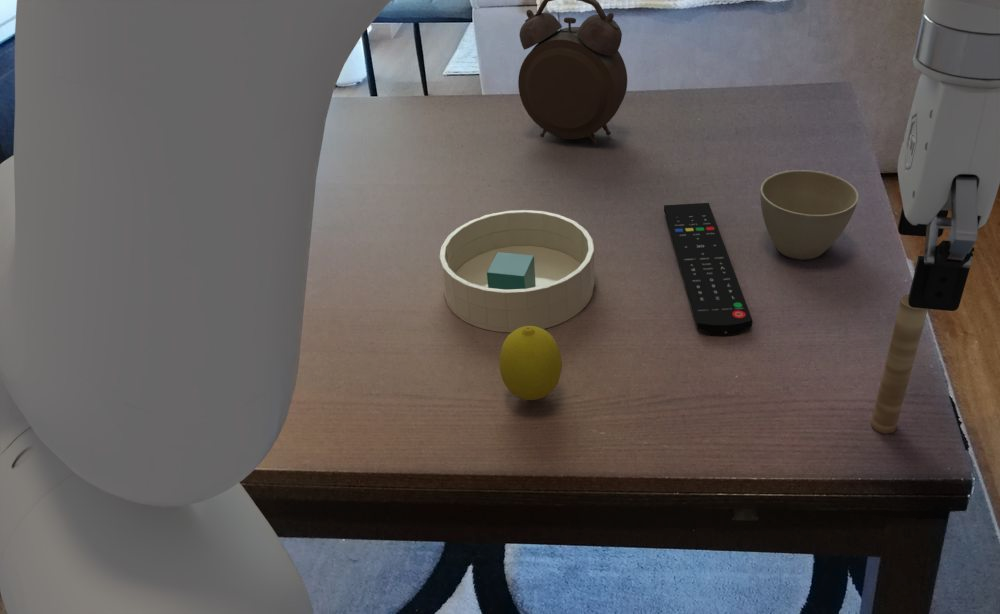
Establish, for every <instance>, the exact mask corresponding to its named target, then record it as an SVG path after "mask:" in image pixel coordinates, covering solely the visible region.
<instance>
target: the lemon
mask: <svg viewBox="0 0 1000 614" xmlns="http://www.w3.org/2000/svg"><path fill="white" fill-rule="evenodd" d="M498 366H499V371H500V376H501V379H502V382H503V384H504V385H505V387H506V388H507V390H508V391H510V393H511V394H512V395H514V396H515V397H518V398H519V399H523V400H526V401H536V400H537V401H538V400H540V399H543V398H544V397H546V396H548V395H549V394H550V393H552V392H553V391H554V390H555V388H556V387H557V385H558V384H559V381H560V379H561V374H562V366H563V365H562V356H561V352H560V348H559V345H558V344H557V342H556V340H555V338H554V336H552V334H551V333H550V332H548V331H547V330H545V329H542V328H539V327H536V326H524V327H521V328H518V329H516V330H514V331H513V332H512V333H509V334H508V335H507V337H506V338H505V339H504V341H503V342H502V346H501V348H500V354H499V365H498Z"/></svg>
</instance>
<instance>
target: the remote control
mask: <svg viewBox="0 0 1000 614" xmlns="http://www.w3.org/2000/svg"><path fill="white" fill-rule="evenodd" d="M663 213H664V216H665V220H666V224H667V227H668V230H669V234H670V238H671V241H672V244H673V248H674V252H675V254H676V258H677V262H678V266H679V269H680V273H681V276H682V279H683V280H682V281H683V283H684V287H685V290H686V293H687V294H686V295H687V297H688V301H689V304H690V308H691V312H692V315H693V317H694V318H693V319H694V322H695V326H696V328H697V330H699V331H701V332H703V333H705V334H707V335H710V336H715V337H717V336H718V337H729V336H735V335H740V334H741V333H743V332H745V331H746V330H748V329H750V328H751V327H753V317H752V314H751V312H750V309H749V307H748V304H747V302H746V299H745V296H744V293H743V290H742V288H741V286H740V282H739V280H738V278H737V274H736V272H735V269H734V267H733V264H732V262H731V259H730V257H729V253H728V250H727V248H726V245H725V242H724V240H723V237H722V235H721V234H722V233H721V232H720V230H719V226H718V224H717V221H716V218H715V216H714V212H713V210H712V207H711V205H710V202H698V203H681V204H679V203H678V204H677V203H676V204H664V205H663Z"/></svg>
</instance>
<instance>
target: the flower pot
mask: <svg viewBox="0 0 1000 614" xmlns="http://www.w3.org/2000/svg"><path fill="white" fill-rule="evenodd" d="M759 189H760V190H759V197H760V208H761V213H762V217H763V222H764V225H765V228H766V231H767V234H768V235H769V238H770V240H771V241H772V243H773V245H774V246H775V248H776V250H777V251H778V252H779V253H780V254H781V255H783V256H785V257H787V258H791V259H795V260H802V261H803V260H804V261H805V260H813V259H815V258H818V257H820V256H821V255H822V254H824V253H825V252H826V251H827V250H828V249H829V248H830V247H831V246H832V245H833V244H834V243H835V242H836V241H837V240H838V238H839V237H840V236H841V235H842V233H843V232H844V230H845V228H847V226H848V224H849V222H850V221H851V218H852V217H853V215H854V212H855V210H856V207H857V205H858V202H859V198H860V196H859V195H860V194H859V192H858V190H857V189H856V187H855V186H854V185H853V184H852V183H850V182H849V181H848V180H846V179H844V178H842V177H840V176H837V175H835V174H831V173H828V172H824V171H817V170H811V169H791V170H786V171H785V170H784V171H780V172H777V173H774V174H771V175H770V176H768V177H767V178H765V180H764V181H762V183H761V184H760V188H759Z"/></svg>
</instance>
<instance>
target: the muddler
mask: <svg viewBox="0 0 1000 614" xmlns="http://www.w3.org/2000/svg"><path fill="white" fill-rule="evenodd" d="M908 297H909V293H907V294H904V295H903V296H901V298H900V301H899V306H898V309H897V314H896V318H895V322H894V325H893V330H892V334H891V337H890V338H891V339H890V342H889V347H888V350H887V355H886V359H885V362H884V367H883V371H882V375H881V378H880V383H879V388H878V391H877V396H876V400H875V404H874V408H873V412H872V416H871V421H870V424H871V428H872V429H874V430H875V431H876V432H878V433H881V434H891V433H894V432H895V431H896V429H897V427H898V422H899V419H900V415H901V412H902V408H903V405H904V400H905V397H906V393H907V390H908V385H909V381H910V378H911V374H912V372H913V371H912V370H913V366H914V363H915V359H916V355H917V352H918V348H919V345H920V341H921V337H922V334H923V330H924V326H925V322H926V318H927V315H928V311H929V309H924V308H913V307H911V306H910V305H909V302H908Z"/></svg>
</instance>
